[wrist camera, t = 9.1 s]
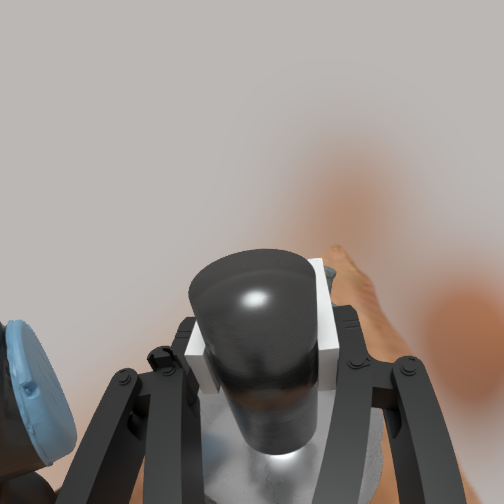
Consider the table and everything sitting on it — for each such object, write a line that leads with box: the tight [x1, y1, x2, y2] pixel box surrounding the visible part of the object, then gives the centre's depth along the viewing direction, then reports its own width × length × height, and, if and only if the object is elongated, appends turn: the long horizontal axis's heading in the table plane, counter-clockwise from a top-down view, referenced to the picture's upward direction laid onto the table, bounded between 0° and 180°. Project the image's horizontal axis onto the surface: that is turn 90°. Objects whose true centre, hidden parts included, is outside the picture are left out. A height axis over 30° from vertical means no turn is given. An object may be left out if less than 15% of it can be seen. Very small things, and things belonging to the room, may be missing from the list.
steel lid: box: [188, 249, 383, 504], centre depth 13 cm, size 12×12×12 cm
